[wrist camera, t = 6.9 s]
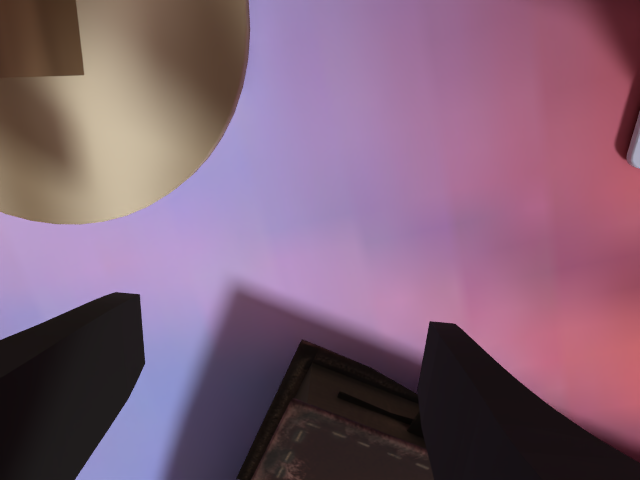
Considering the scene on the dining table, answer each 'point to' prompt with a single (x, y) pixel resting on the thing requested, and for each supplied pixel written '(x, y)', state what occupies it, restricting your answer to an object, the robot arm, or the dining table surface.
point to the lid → (112, 101)
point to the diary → (338, 425)
